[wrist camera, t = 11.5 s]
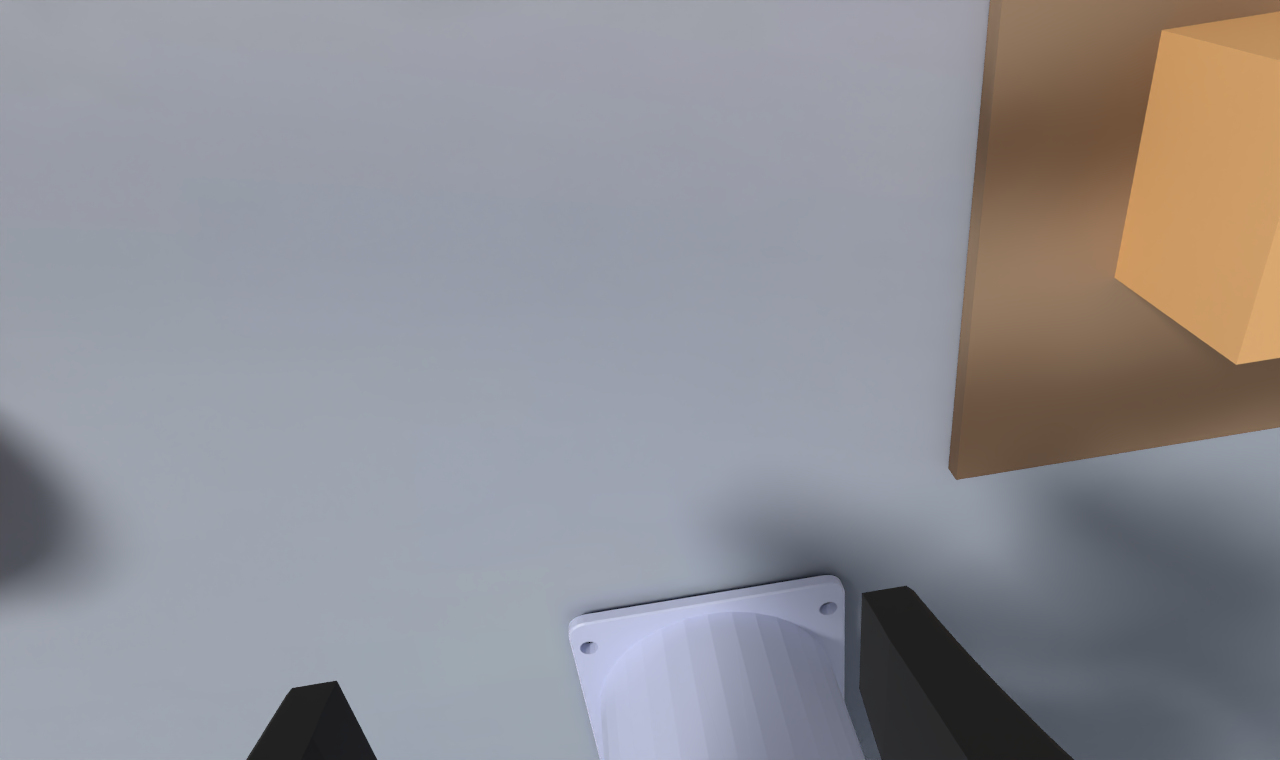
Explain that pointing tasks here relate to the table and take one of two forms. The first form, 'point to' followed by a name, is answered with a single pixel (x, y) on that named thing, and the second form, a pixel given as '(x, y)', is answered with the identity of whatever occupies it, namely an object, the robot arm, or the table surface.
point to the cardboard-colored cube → (1211, 187)
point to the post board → (1078, 253)
